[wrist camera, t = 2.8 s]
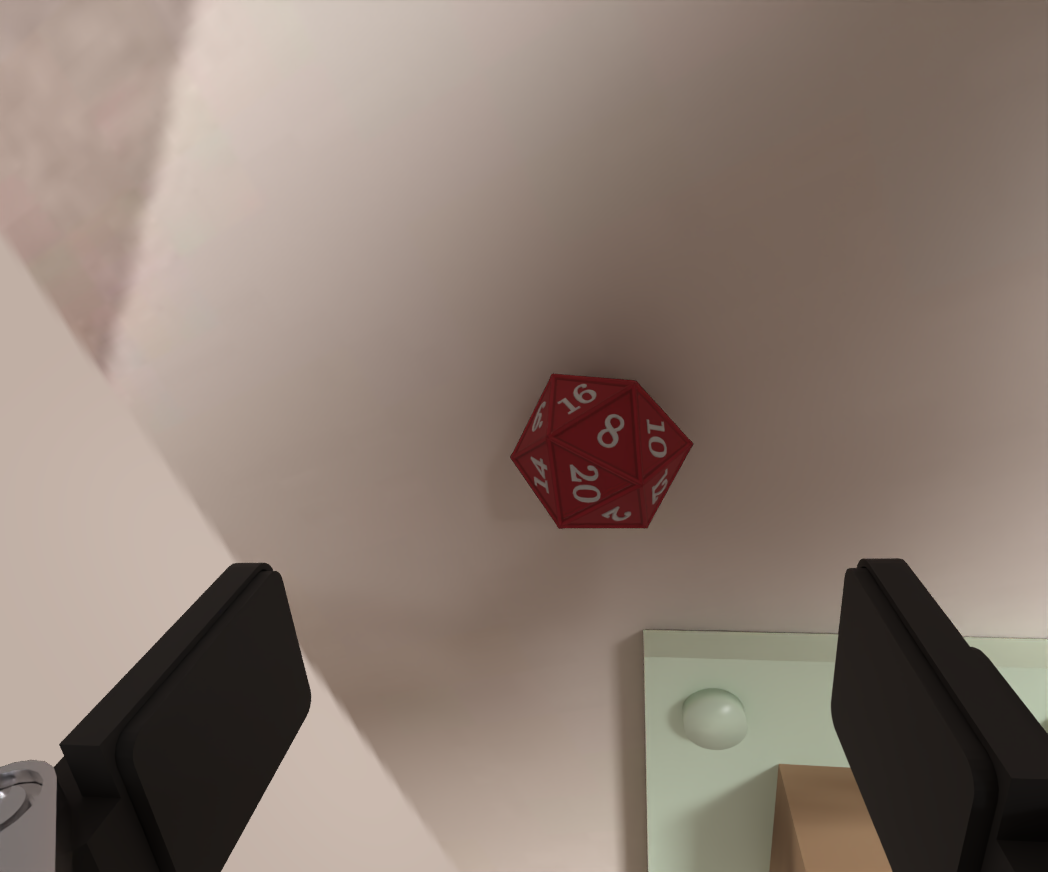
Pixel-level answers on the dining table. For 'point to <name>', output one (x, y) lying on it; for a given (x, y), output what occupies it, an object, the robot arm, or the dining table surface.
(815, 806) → the bronze block
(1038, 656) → the plate
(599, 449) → the dice
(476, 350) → the dining table surface
